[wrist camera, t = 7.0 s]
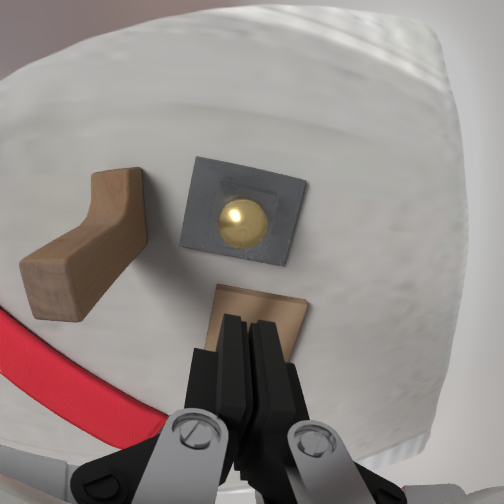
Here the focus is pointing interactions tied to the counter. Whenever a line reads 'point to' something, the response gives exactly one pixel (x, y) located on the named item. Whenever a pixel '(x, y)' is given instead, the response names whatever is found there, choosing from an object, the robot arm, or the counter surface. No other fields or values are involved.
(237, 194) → the plate
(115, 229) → the wooden block
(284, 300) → the board
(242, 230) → the button
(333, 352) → the counter surface
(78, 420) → the dish drying mat
